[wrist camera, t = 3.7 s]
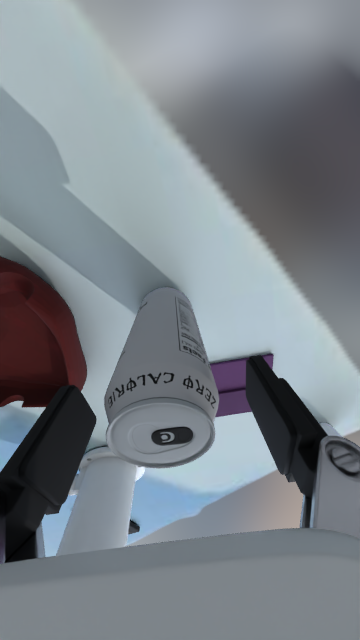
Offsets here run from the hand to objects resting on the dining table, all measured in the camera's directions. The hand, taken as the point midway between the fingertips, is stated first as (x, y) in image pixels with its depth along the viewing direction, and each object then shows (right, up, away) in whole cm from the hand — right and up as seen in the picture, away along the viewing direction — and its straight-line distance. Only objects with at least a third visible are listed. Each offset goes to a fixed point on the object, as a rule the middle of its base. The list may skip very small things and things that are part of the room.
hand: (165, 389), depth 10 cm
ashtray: (-17, +2, +12) cm, 21 cm away
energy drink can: (-1, +5, +12) cm, 13 cm away
